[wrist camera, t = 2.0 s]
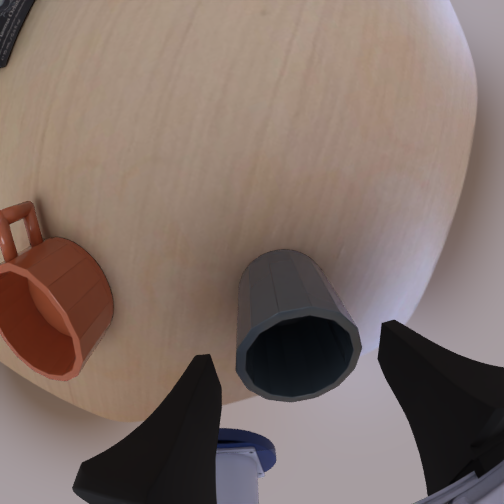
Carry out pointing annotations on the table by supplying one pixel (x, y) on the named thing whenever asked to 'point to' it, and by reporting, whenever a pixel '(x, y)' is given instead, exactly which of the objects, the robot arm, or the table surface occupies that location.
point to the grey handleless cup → (292, 329)
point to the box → (11, 24)
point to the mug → (50, 299)
